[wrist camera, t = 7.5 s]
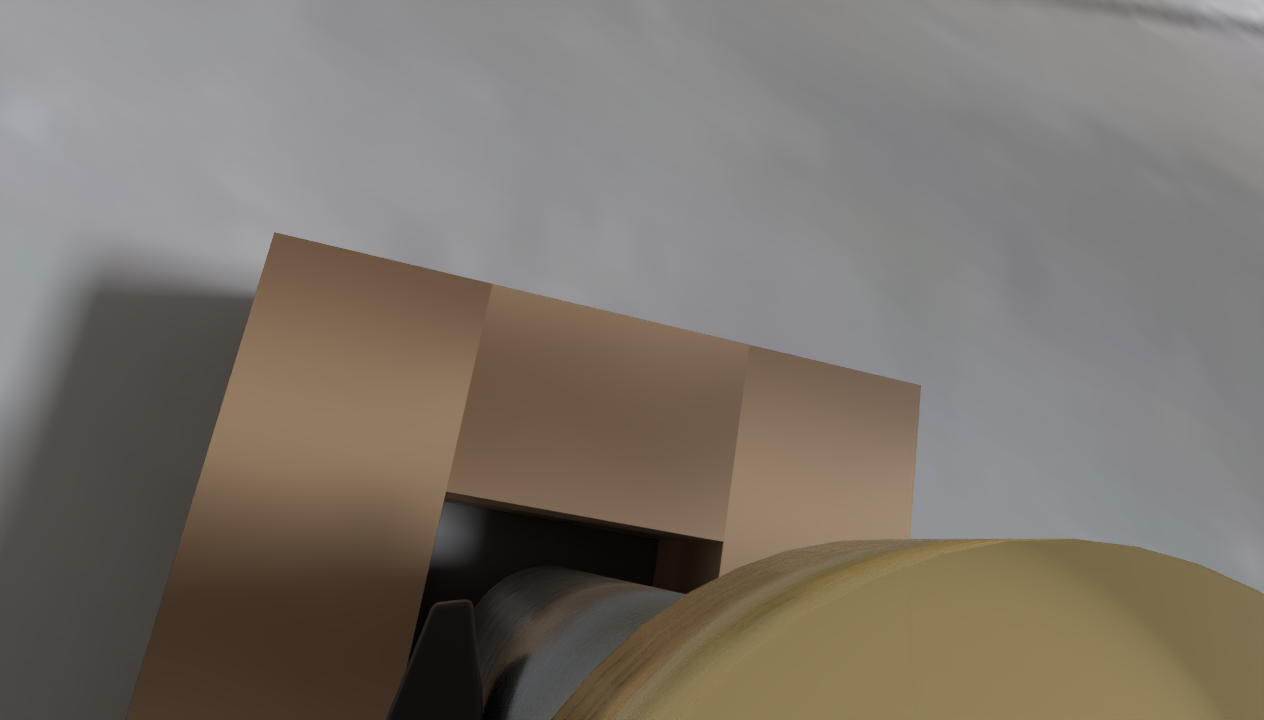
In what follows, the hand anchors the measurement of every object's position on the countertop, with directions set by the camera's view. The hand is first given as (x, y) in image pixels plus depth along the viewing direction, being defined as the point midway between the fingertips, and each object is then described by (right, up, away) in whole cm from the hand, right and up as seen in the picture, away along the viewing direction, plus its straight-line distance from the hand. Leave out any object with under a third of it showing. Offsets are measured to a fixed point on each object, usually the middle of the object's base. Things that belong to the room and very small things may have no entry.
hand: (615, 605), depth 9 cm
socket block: (-2, -3, +7) cm, 8 cm away
